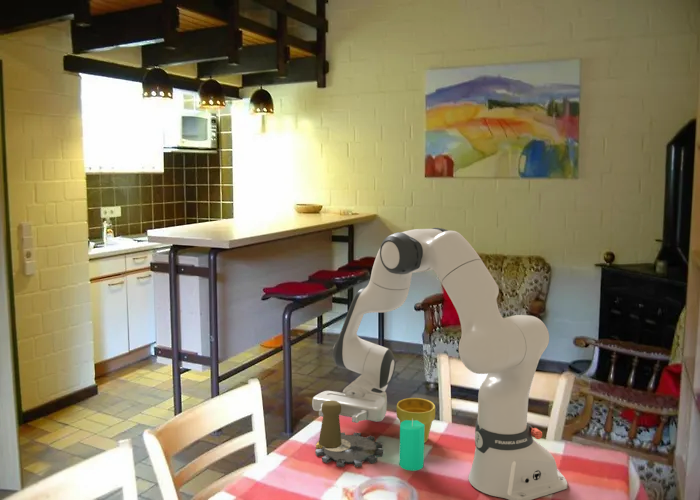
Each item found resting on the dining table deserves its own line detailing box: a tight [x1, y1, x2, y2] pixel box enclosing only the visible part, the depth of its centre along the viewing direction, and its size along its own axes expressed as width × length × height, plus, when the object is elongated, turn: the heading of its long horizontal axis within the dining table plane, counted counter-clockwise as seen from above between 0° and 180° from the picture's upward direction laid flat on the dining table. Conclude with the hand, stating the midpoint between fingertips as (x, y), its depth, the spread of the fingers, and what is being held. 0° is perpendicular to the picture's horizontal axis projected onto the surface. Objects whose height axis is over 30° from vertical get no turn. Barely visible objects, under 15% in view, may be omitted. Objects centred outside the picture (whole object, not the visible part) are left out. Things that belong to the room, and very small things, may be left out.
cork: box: [318, 400, 342, 448], centre depth 157 cm, size 6×6×11 cm
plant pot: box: [395, 397, 436, 444], centre depth 162 cm, size 10×10×10 cm
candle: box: [398, 418, 425, 472], centre depth 148 cm, size 6×6×12 cm
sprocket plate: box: [314, 432, 384, 468], centre depth 156 cm, size 18×18×1 cm
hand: (337, 416), depth 156 cm, fingers open, 8 cm apart
